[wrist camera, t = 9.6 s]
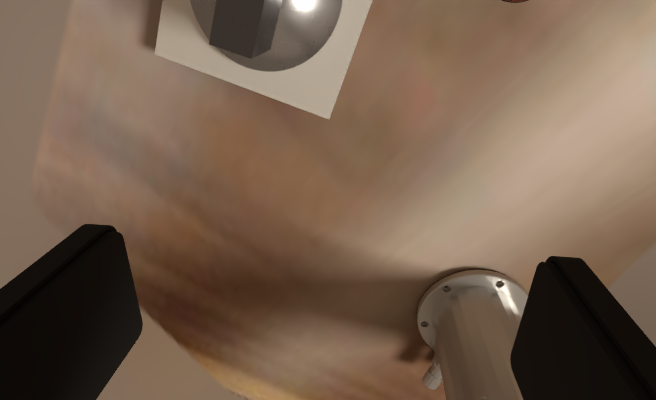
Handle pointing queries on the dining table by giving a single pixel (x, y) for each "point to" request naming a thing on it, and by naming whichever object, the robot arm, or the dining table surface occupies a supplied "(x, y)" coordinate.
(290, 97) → the dial base
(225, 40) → the dial
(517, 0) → the beverage can
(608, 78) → the dining table surface
